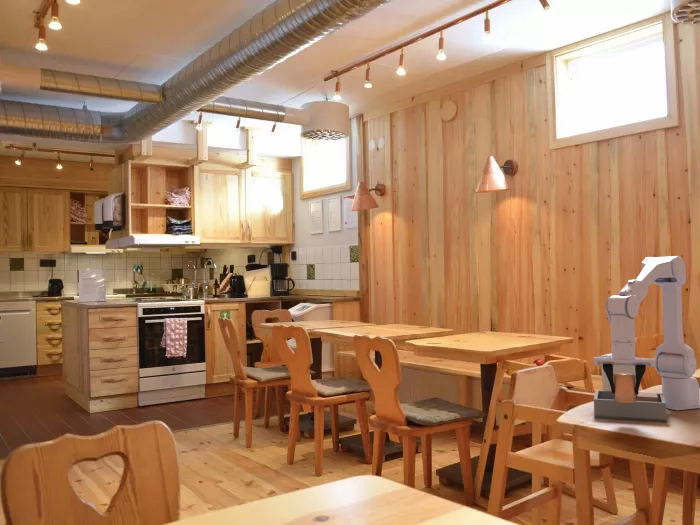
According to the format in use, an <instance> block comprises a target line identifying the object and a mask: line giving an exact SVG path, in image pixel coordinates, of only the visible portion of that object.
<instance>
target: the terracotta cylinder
mask: <svg viewBox="0 0 700 525" xmlns="http://www.w3.org/2000/svg"><path fill="white" fill-rule="evenodd" d="M614 390H615V401H616V402H620V403H635V402H636V397H635V374H631V373H614Z"/></svg>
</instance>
